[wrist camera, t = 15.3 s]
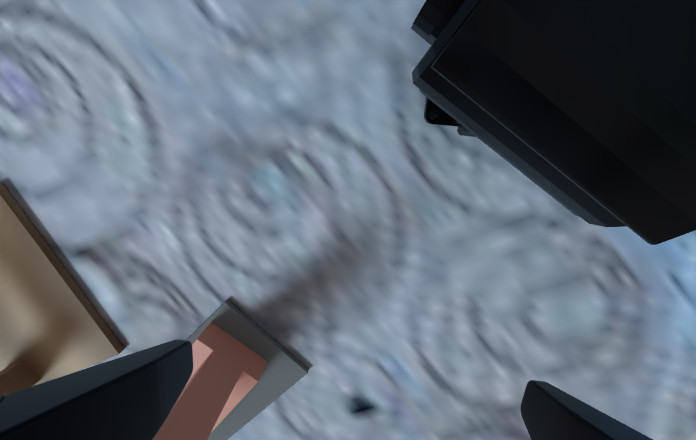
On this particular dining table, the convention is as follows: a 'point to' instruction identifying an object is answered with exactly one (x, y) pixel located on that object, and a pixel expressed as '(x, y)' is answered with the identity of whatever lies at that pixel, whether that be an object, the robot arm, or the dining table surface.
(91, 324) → the stand
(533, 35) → the robot arm
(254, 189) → the dining table surface
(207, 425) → the c link
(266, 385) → the mat
